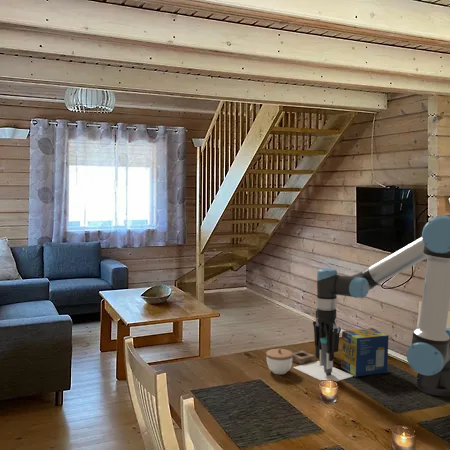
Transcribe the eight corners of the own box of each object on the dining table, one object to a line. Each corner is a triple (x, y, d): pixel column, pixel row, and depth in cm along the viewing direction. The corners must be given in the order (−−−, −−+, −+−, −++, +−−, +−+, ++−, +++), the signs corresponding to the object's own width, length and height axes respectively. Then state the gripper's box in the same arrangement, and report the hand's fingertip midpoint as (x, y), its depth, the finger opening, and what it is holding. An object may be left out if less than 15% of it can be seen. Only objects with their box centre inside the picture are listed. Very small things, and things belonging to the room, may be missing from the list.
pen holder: (314, 361, 210) (315, 355, 210) (300, 364, 205) (300, 359, 205) (302, 355, 216) (302, 350, 216) (288, 359, 212) (288, 353, 212)
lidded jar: (262, 374, 195) (262, 351, 194) (270, 365, 205) (270, 343, 204) (289, 378, 191) (289, 354, 190) (295, 368, 201) (295, 346, 200)
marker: (334, 374, 193) (330, 338, 191) (328, 377, 192) (324, 340, 189) (328, 371, 196) (324, 335, 194) (322, 374, 194) (318, 338, 192)
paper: (353, 376, 193) (353, 375, 193) (327, 384, 185) (327, 383, 185) (318, 361, 209) (318, 360, 209) (293, 367, 202) (293, 367, 202)
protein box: (340, 367, 201) (341, 330, 200) (371, 364, 206) (373, 327, 205) (355, 377, 191) (356, 338, 190) (388, 372, 196) (389, 334, 195)
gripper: (348, 311, 186) (348, 371, 188) (319, 302, 200) (318, 359, 202) (334, 313, 182) (334, 375, 184) (305, 305, 196) (305, 362, 198)
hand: (326, 366), depth 193 cm, fingers closed on marker, 3 cm apart
